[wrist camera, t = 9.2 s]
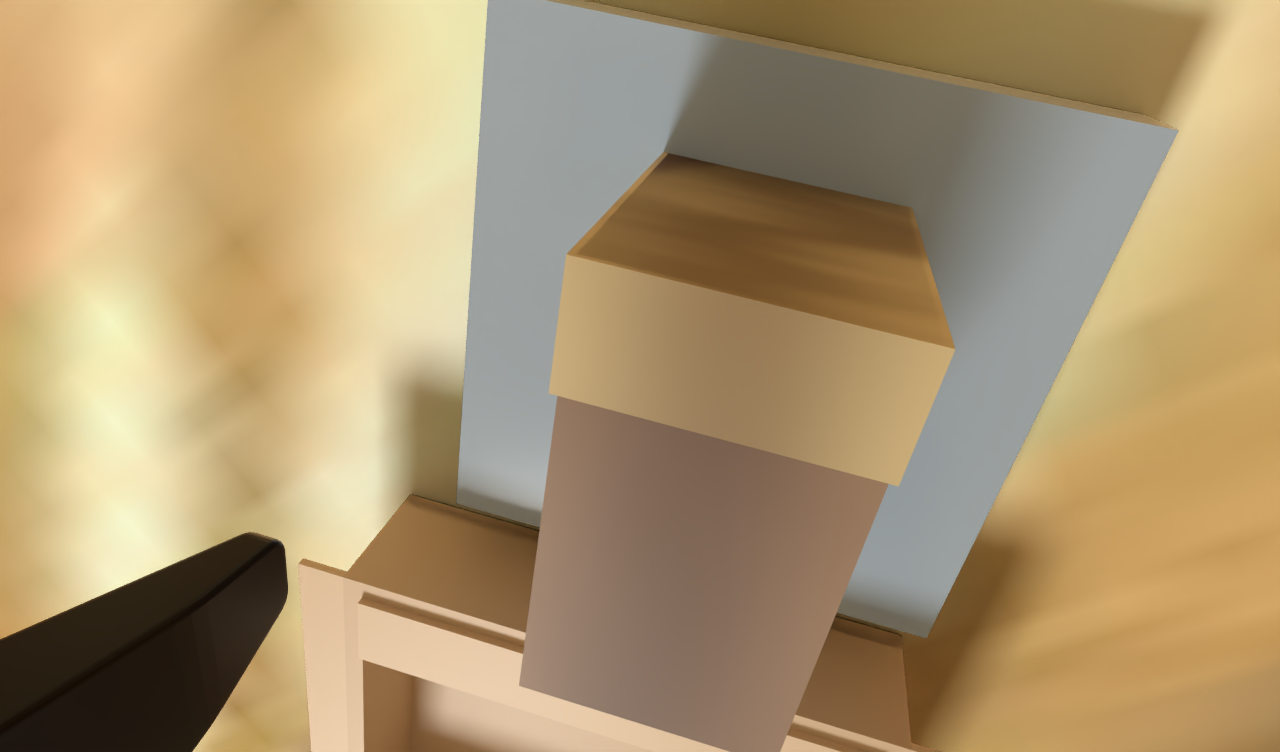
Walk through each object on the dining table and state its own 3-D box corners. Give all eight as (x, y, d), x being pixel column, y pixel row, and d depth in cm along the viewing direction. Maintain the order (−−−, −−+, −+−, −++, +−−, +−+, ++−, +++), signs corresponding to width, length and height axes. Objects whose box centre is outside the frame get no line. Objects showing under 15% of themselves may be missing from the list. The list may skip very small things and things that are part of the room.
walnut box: (912, 207, 14) (955, 348, 9) (796, 539, 18) (780, 773, 13) (663, 151, 15) (565, 254, 10) (603, 485, 19) (511, 688, 13)
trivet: (1147, 115, 14) (1179, 130, 13) (920, 594, 20) (926, 638, 19) (517, -14, 15) (488, -11, 14) (479, 470, 21) (456, 503, 20)
